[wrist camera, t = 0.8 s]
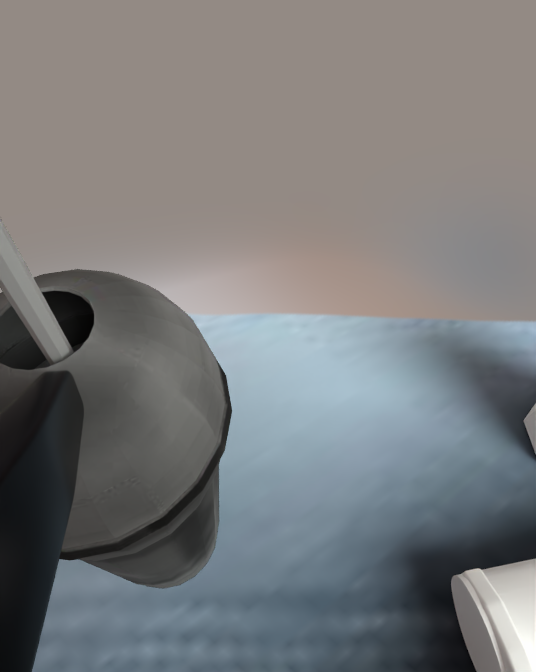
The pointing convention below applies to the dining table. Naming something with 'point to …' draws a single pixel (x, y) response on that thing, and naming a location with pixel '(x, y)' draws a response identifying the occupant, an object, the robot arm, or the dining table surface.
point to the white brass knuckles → (498, 616)
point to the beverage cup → (124, 414)
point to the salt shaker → (531, 426)
